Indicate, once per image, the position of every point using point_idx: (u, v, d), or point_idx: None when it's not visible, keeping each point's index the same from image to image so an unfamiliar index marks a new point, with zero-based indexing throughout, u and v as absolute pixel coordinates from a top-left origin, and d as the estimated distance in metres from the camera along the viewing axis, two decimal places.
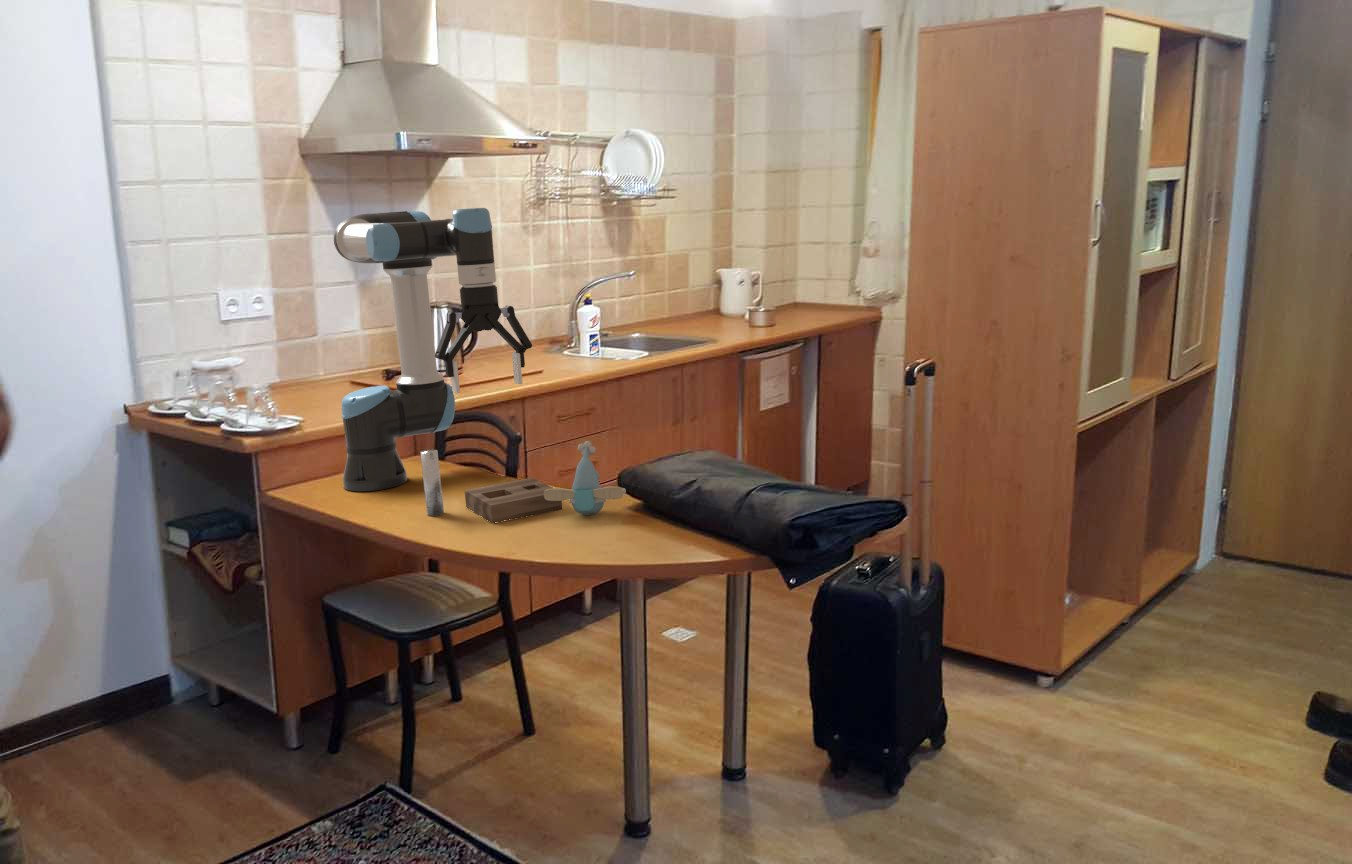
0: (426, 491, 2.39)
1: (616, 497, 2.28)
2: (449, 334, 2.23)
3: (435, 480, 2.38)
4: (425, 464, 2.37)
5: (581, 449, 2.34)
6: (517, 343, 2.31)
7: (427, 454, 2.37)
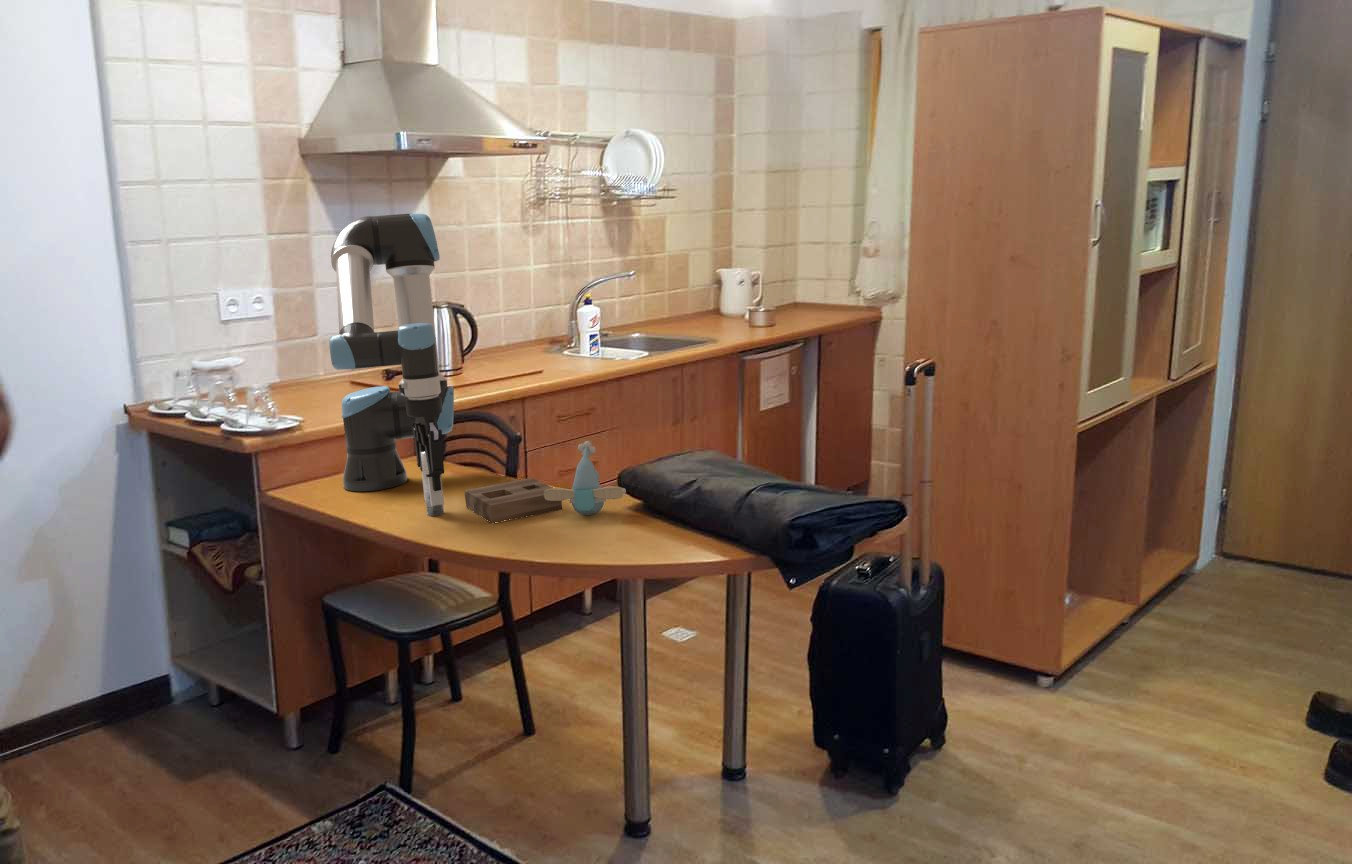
0: (426, 491, 2.39)
1: (616, 497, 2.28)
2: (415, 443, 2.42)
3: None
4: (425, 464, 2.37)
5: (581, 449, 2.34)
6: (429, 466, 2.36)
7: None
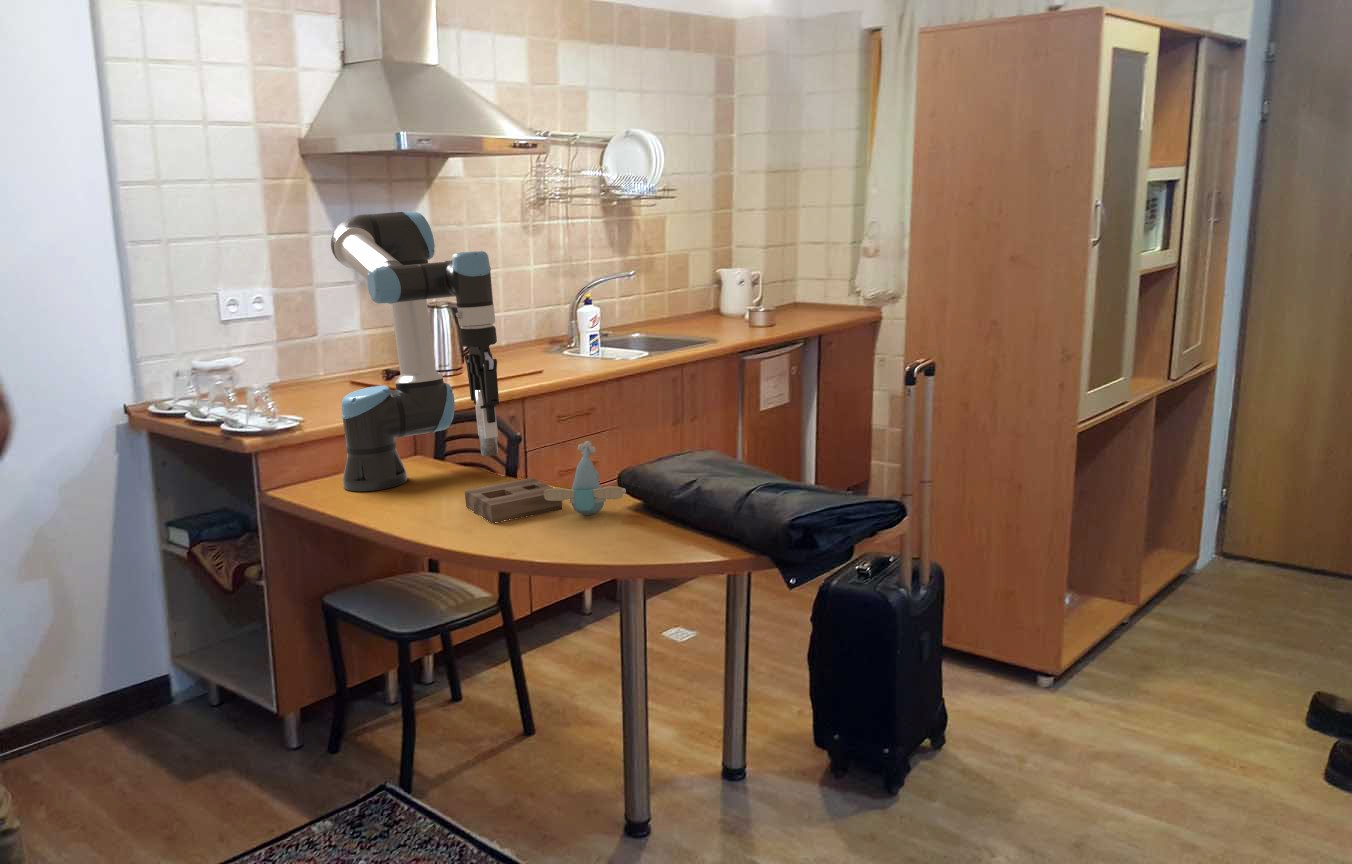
0: (480, 430, 2.35)
1: (616, 497, 2.28)
2: (468, 376, 2.38)
3: None
4: (479, 403, 2.33)
5: (581, 449, 2.34)
6: (483, 397, 2.31)
7: None
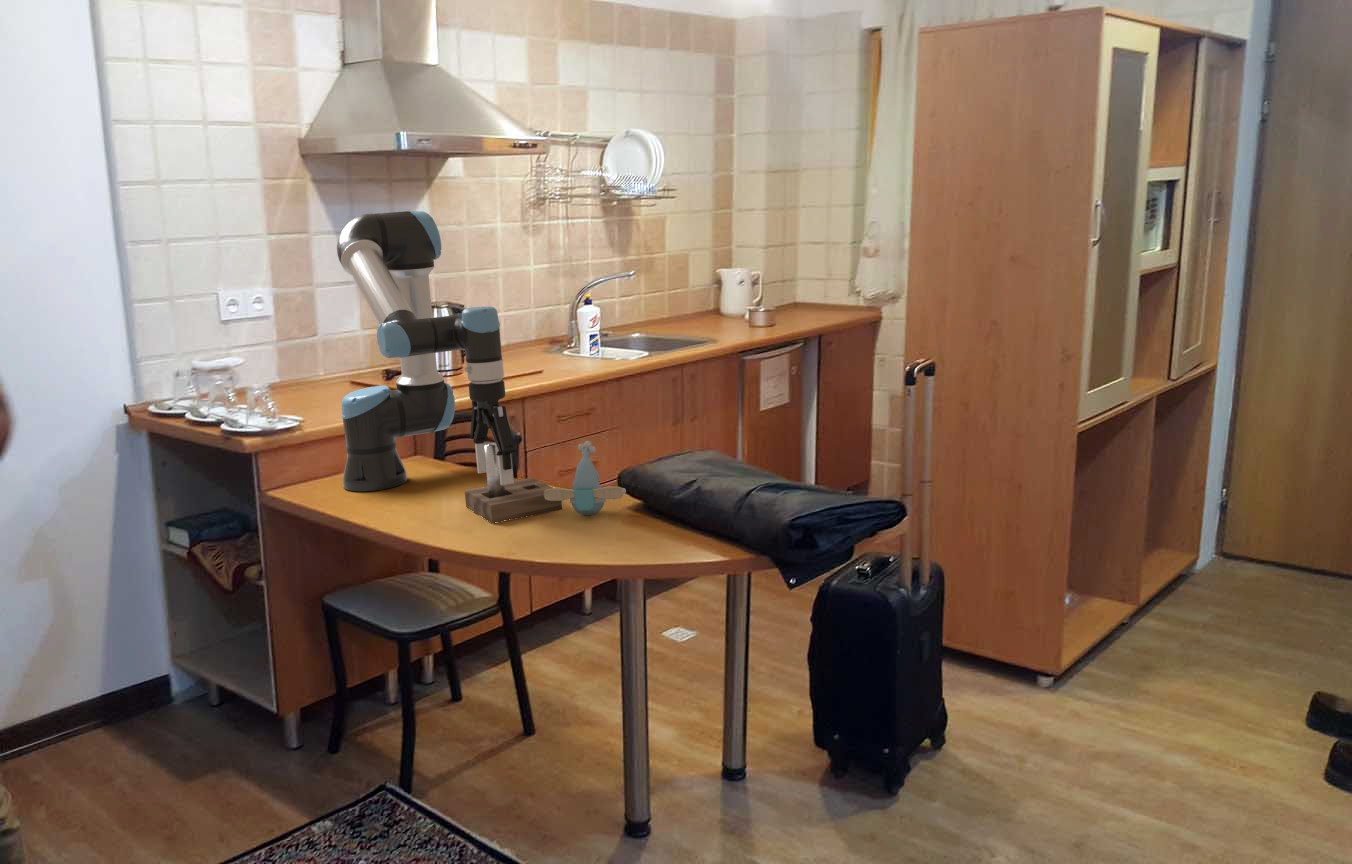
0: (489, 484, 2.37)
1: (616, 497, 2.28)
2: (472, 419, 2.42)
3: None
4: (488, 457, 2.36)
5: (581, 449, 2.34)
6: (498, 445, 2.30)
7: (491, 447, 2.35)
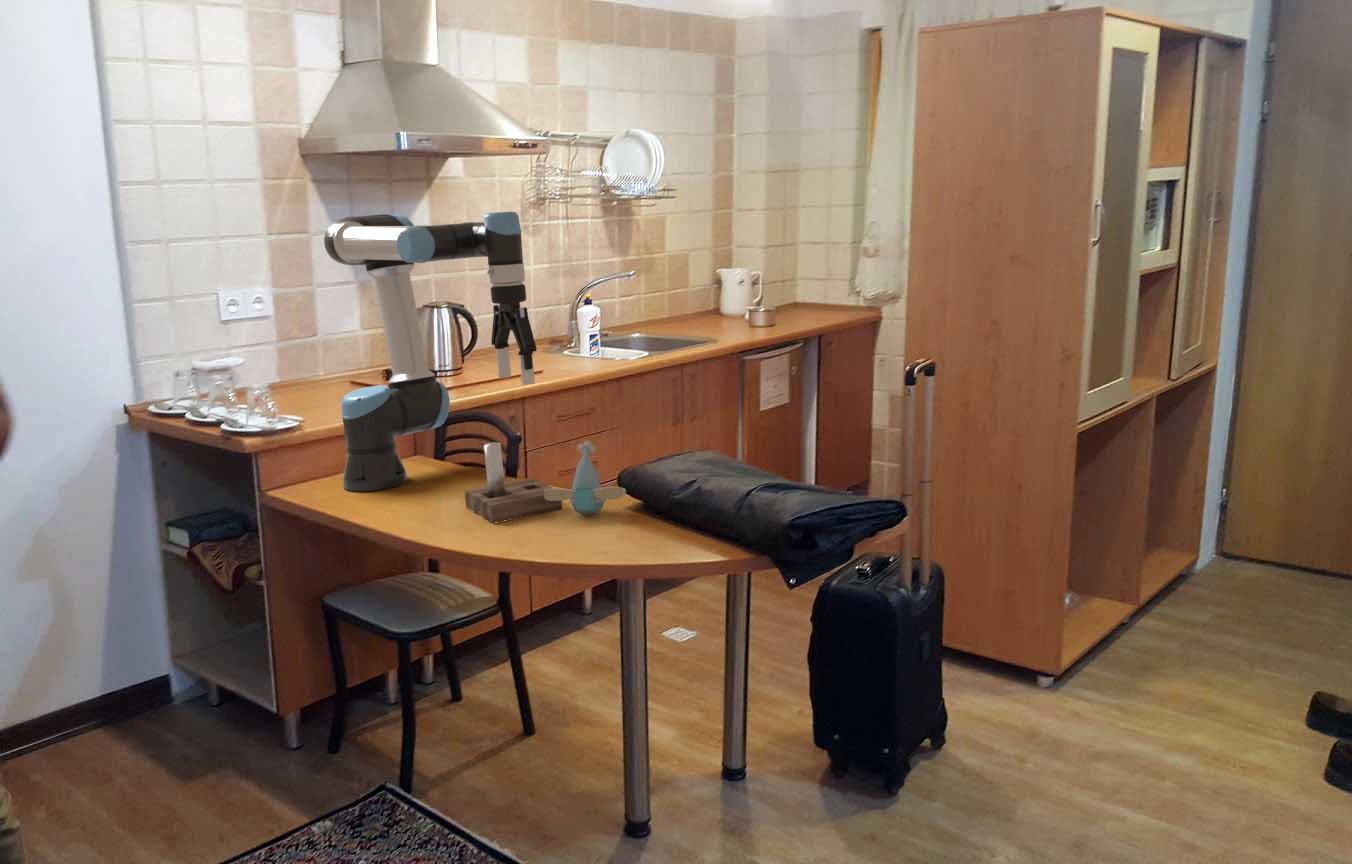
0: (489, 484, 2.37)
1: (616, 497, 2.28)
2: (494, 324, 2.48)
3: (499, 473, 2.37)
4: (488, 457, 2.36)
5: (581, 449, 2.34)
6: (519, 345, 2.37)
7: (491, 447, 2.35)
